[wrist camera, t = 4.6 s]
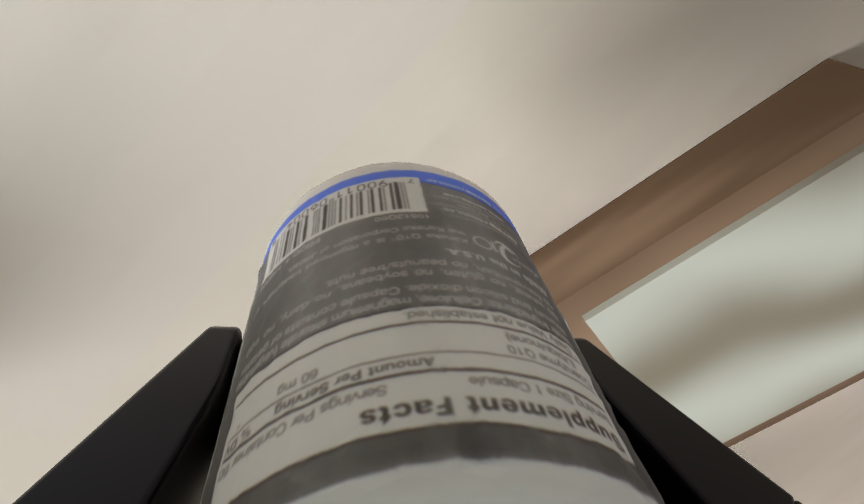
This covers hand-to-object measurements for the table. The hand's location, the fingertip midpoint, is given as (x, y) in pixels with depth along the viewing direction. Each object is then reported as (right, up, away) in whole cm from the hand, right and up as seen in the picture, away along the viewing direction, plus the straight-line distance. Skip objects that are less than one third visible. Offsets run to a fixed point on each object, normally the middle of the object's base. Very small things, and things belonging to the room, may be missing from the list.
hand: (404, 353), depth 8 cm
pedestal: (+12, +1, +14) cm, 18 cm away
